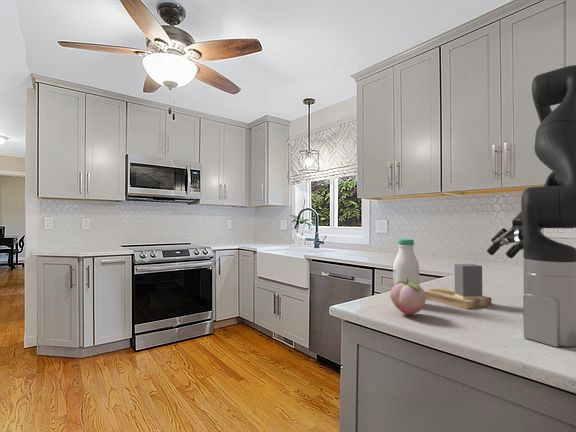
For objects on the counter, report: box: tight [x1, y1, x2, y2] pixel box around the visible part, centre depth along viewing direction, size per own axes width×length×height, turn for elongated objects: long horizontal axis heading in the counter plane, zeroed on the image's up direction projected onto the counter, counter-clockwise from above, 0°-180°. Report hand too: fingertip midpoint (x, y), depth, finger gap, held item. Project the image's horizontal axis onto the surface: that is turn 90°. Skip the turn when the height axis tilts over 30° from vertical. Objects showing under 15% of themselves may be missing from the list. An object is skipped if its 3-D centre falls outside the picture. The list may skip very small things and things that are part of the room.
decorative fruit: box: [389, 278, 427, 316], centre depth 88 cm, size 9×8×10 cm
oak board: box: [423, 287, 492, 310], centre depth 104 cm, size 12×17×2 cm
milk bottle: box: [392, 238, 421, 288], centre depth 100 cm, size 8×8×20 cm
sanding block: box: [454, 263, 483, 299], centre depth 100 cm, size 6×4×10 cm
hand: (498, 254), depth 101 cm, fingers open, 8 cm apart
